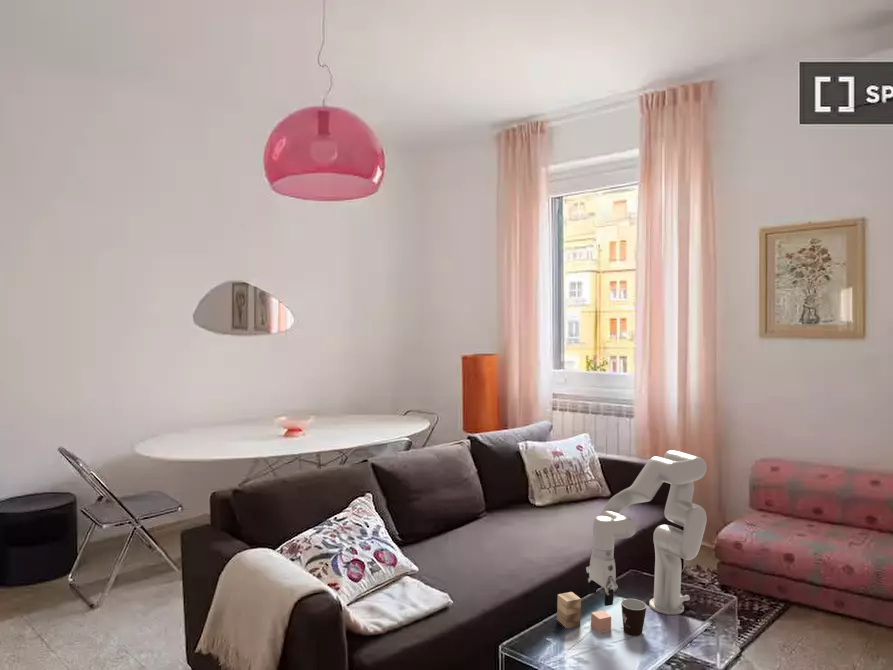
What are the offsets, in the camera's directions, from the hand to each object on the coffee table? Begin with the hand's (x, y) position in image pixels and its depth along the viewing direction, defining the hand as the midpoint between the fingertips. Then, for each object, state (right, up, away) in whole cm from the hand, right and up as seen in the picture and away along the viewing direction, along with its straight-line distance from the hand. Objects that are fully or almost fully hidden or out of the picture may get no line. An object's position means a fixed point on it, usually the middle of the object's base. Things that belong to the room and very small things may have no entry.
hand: (600, 599), depth 238 cm
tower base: (-11, -10, +4) cm, 15 cm away
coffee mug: (+12, -11, 0) cm, 16 cm away
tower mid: (-11, -5, +4) cm, 12 cm away
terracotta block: (0, -11, +1) cm, 11 cm away
